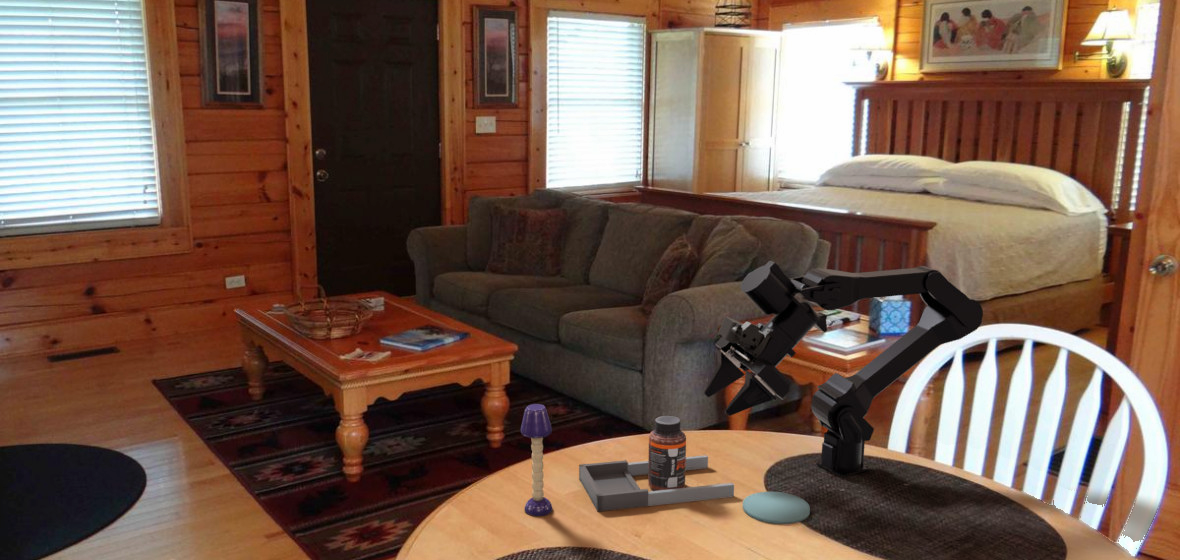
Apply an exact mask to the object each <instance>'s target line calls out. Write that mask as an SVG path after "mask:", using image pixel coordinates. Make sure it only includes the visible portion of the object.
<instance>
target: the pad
mask: <svg viewBox="0 0 1180 560" xmlns="http://www.w3.org/2000/svg"><path fill="white" fill-rule="evenodd" d="M742 509H743V511H744V513H745V514H746V515H747V516H748V517H750V518H752V519H753V520H756V521H759V522H763V523H768V524H773V525H790V524H796V523H800V522H802V521H804V520H806V519H807V518H808V517H809V516H810V512H811V508H810V505H809V503H808V502H807V501H806V500H805V499H803V498H802V497H799V496H797V495H794V494H790V493H786V492H782V491H781V492H780V491H761V492H755V493H752V494H749V495H747V496H746V497H744V499H743V501H742Z"/></svg>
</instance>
